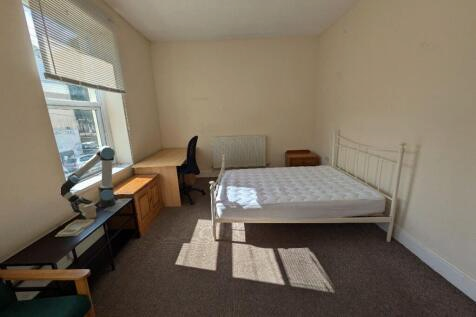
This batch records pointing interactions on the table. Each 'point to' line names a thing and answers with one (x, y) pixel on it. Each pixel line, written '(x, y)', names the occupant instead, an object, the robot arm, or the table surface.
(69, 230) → the keyhole tray
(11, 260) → the table surface
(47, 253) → the table surface
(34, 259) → the table surface
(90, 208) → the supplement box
